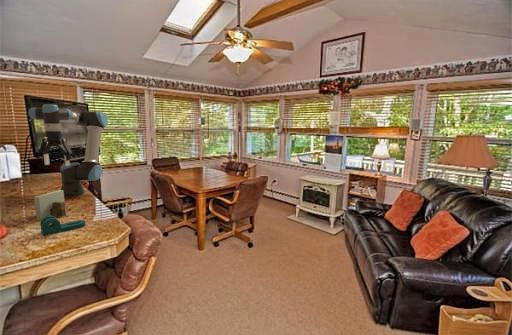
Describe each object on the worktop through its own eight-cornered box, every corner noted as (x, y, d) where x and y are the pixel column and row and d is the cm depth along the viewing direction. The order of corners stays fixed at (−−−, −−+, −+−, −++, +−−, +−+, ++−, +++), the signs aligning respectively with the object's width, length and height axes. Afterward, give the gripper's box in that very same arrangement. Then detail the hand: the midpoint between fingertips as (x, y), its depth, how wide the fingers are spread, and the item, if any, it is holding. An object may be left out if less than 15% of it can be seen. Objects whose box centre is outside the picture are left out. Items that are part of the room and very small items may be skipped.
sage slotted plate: (41, 220, 145) (39, 197, 143) (36, 219, 146) (34, 197, 144) (65, 210, 161) (63, 190, 159) (60, 210, 161) (58, 190, 159)
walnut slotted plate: (37, 214, 153) (35, 201, 152) (41, 213, 155) (39, 200, 154) (62, 216, 151) (60, 203, 150) (65, 215, 154) (64, 202, 152)
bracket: (43, 236, 125) (42, 220, 124) (41, 232, 130) (39, 217, 129) (87, 226, 138) (86, 212, 137) (83, 223, 143) (82, 209, 142)
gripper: (28, 130, 156) (33, 165, 160) (67, 131, 154) (71, 167, 158) (39, 129, 163) (44, 163, 167) (77, 131, 161) (80, 164, 165)
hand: (57, 165), depth 163 cm, fingers open, 13 cm apart
